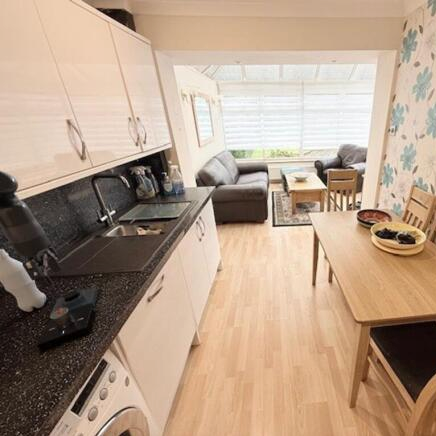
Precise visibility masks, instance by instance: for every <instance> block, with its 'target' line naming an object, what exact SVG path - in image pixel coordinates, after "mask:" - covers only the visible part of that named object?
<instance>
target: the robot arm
mask: <svg viewBox="0 0 436 436" xmlns="http://www.w3.org/2000/svg"><path fill="white" fill-rule="evenodd" d="M18 188H19V182H18V180H17V179H16V178H15V177H14V176H12V175H11V174H10V173H8V172H5V171H2V170H0V228H1V230H2V232H3V234H4V236H5V238H6V239H7V240H8V243H10V245H11V246H12V249H14V251H15V252H16V254H17V255H19V256H25V257H26V259H27V261H26V262H22V263H23V264H22V265H23V267H24V268H25V270H26V272H27V273H28V275H29V277H30V278H31V280H35V281H36V280H38V281H39V283H40V284H41V286H42V287H43V288H49V287H52V286H53V285H54V282H53V281H52V279H51V277H50V276H49V274H48V271H47V269H48V268H50V270H51V271H52V273H58V272H59V273H60V272H61V271H62V270H63V268H62V267H61V265H60V263H59V261H58V257H59V256H60V255H59V253H58V252H57V250H56V248H55V247H54V245H53V244H52V241H51V240H50V239H49V237H48V236H47V234H46V232H45V230H44V229H43V227H42V226H41V224H40V222H38V220H37V218H36V217H35V215H34V214H33V212H32V211H31V209H30V207H29V206H28V205H27V203H26V202H24V201H22V200H21V199H20V198H19V197H18V195H17V193H16V192H17V191H18Z"/></svg>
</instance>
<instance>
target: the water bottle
mask: <svg viewBox="0 0 436 436" xmlns="http://www.w3.org/2000/svg"><path fill="white" fill-rule="evenodd" d="M23 263H24V262H21V261H19V260H17V259H14V258H12V257H10V256H9V253H8V252H7V251H5V249H4V248H0V283H1V285H2V286H3V287H4V290H5V291H6V292H8V293H10V294H11V295H13V297H15V299H16V302H17V307H18V308H19V309H20V310H22V311H24V312H26V313H30V312H33V311H34V308H36V309H40V308H42V307H43V306H44V305H45V303H46V302H47V296H46V294H45V293H43V292H41V291H40V290H39V289H38V287H37V285H36V280H31V278H30V277H29V275H28V273H27V272H26V270H25V268H24V267H23V265H22V264H23Z"/></svg>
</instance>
